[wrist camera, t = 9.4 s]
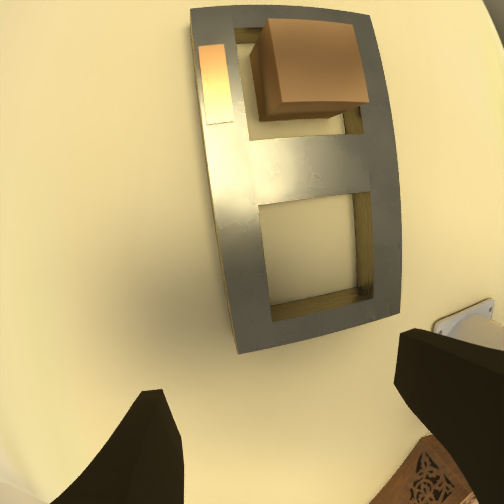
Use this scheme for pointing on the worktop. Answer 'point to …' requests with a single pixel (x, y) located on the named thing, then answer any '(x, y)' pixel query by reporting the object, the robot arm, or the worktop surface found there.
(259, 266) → the socket plate
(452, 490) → the tissue box cover
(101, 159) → the worktop surface
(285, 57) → the square peg
